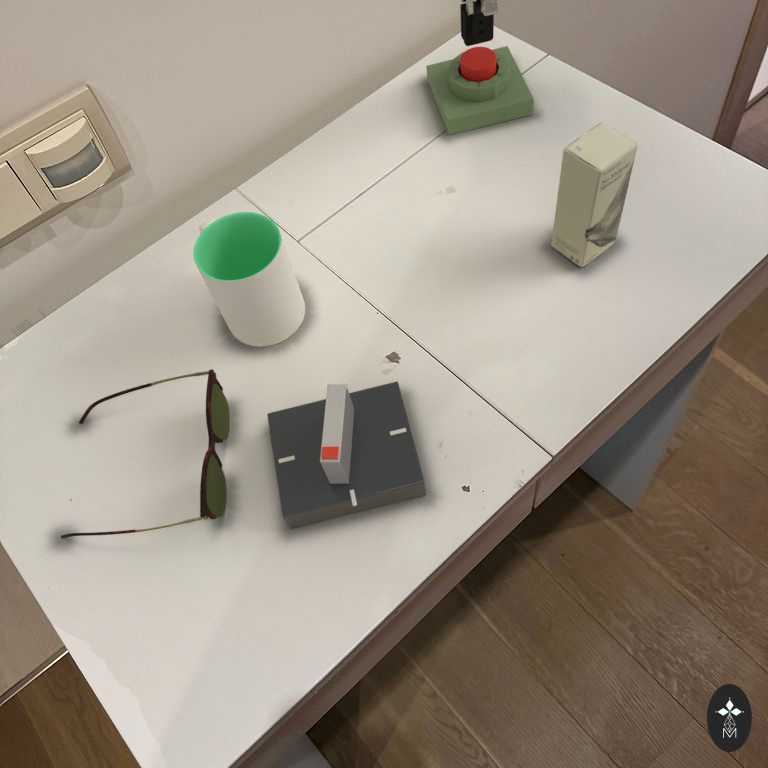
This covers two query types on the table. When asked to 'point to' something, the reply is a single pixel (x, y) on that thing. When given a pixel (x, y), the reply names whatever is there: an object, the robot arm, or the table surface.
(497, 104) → the button box
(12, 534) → the table surface
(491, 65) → the button
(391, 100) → the table surface
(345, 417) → the long grey beam
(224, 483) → the sunglasses
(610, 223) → the box
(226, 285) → the mug
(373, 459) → the plate
